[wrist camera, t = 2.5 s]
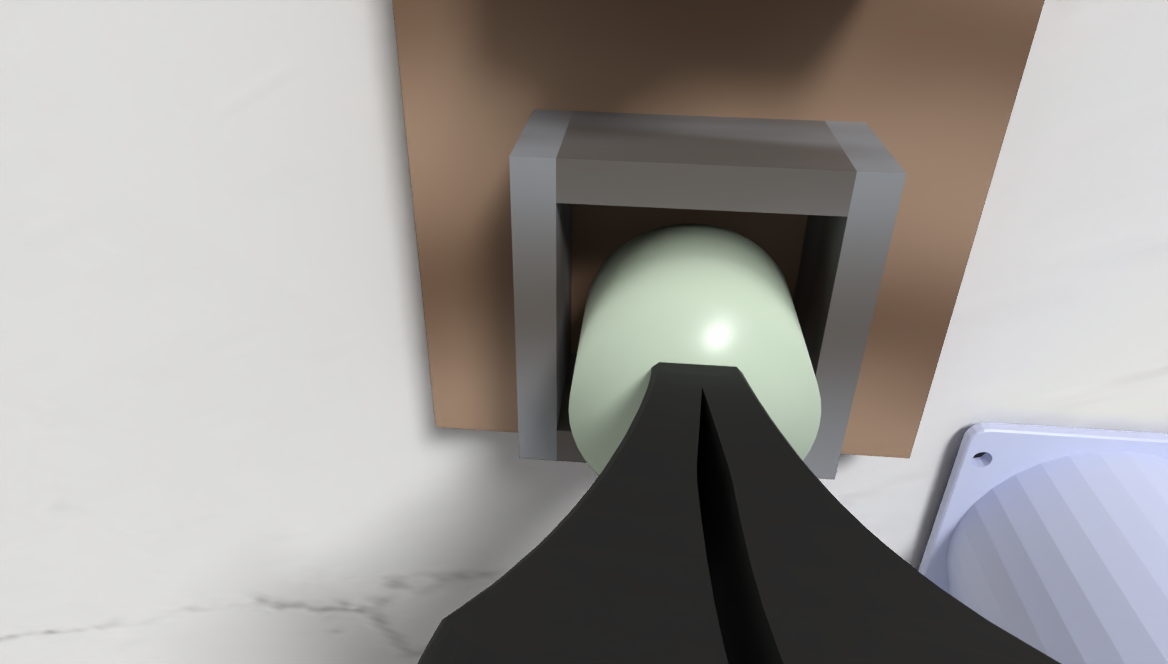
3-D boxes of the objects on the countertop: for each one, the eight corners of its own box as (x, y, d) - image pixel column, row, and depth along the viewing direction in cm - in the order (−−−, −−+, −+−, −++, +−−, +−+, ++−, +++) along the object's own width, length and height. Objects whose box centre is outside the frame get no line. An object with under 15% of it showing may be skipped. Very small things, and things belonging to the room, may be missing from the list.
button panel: (889, 410, 21) (947, 548, 17) (453, 383, 22) (402, 508, 18) (1197, -740, 11) (1537, -1126, 7) (361, -715, 12) (188, -1048, 7)
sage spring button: (776, 407, 16) (799, 518, 13) (583, 396, 16) (567, 501, 14) (807, 228, 14) (842, 315, 11) (586, 218, 14) (569, 301, 12)
